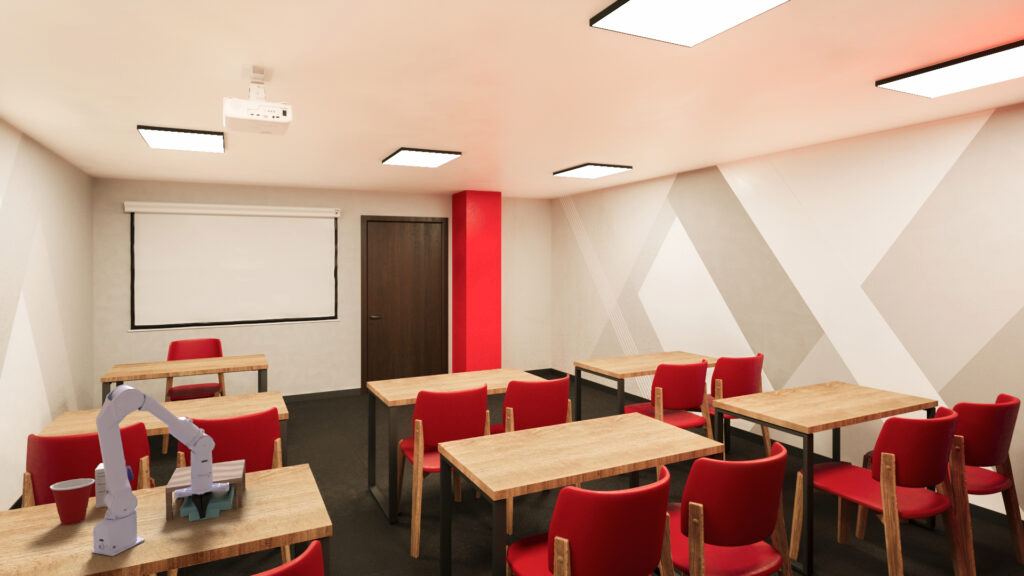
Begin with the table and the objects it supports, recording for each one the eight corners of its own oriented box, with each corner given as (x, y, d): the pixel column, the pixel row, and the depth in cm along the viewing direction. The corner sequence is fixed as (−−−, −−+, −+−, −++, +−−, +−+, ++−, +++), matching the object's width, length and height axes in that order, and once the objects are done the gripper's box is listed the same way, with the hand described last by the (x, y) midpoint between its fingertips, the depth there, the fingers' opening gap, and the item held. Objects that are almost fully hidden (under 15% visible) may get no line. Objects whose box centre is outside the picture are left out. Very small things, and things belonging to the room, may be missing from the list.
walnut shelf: (242, 508, 177) (241, 477, 177) (166, 520, 169) (165, 488, 169) (245, 487, 195) (244, 459, 195) (177, 497, 187) (176, 468, 187)
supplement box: (100, 500, 186) (99, 462, 186) (127, 496, 189) (126, 459, 189) (95, 508, 179) (93, 469, 179) (122, 504, 182) (121, 466, 182)
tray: (229, 515, 173) (229, 496, 173) (177, 523, 167) (177, 503, 167) (234, 491, 192) (234, 474, 192) (188, 498, 187) (187, 480, 186)
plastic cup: (104, 513, 175) (103, 476, 174) (74, 529, 164) (73, 489, 164) (73, 512, 176) (72, 475, 176) (41, 528, 165) (40, 488, 165)
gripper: (171, 481, 162) (173, 527, 162) (227, 473, 167) (228, 518, 167) (175, 473, 168) (176, 517, 168) (229, 466, 174) (230, 509, 174)
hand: (202, 517), depth 168 cm, fingers closed
